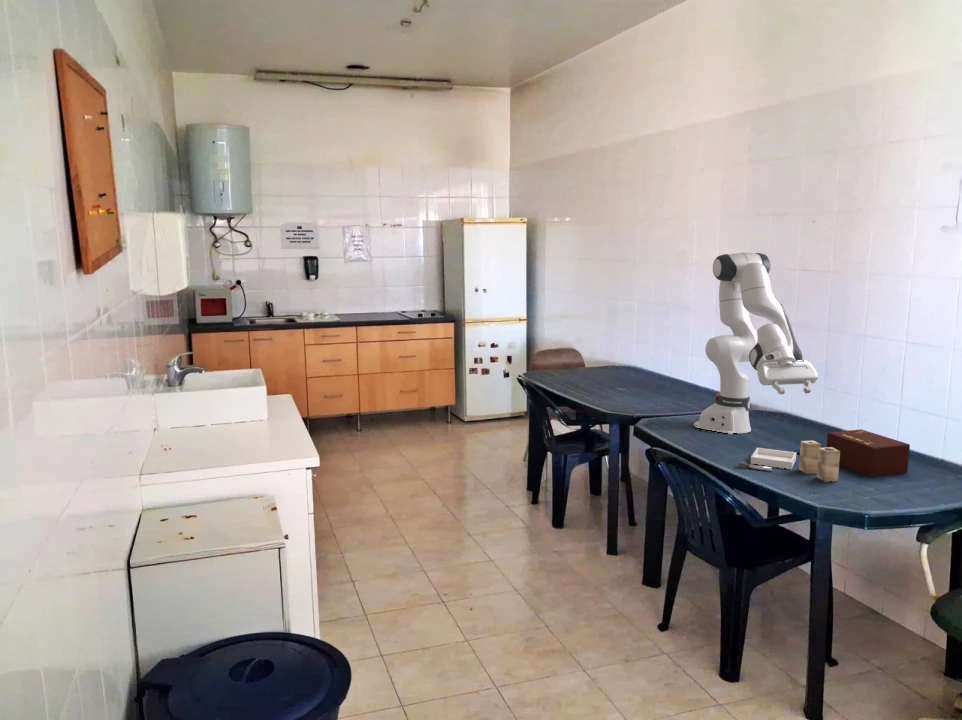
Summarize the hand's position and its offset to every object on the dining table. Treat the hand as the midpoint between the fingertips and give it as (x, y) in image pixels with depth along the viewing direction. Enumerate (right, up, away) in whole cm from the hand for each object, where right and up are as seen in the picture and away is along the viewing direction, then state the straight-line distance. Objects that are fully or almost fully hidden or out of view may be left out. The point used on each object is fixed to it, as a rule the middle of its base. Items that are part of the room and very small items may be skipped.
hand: (795, 392), depth 252 cm
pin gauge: (-15, -26, -4) cm, 30 cm away
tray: (-6, -24, +4) cm, 25 cm away
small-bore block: (+2, -26, -7) cm, 27 cm away
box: (+24, -25, -1) cm, 35 cm away
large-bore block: (+4, -27, -15) cm, 31 cm away
